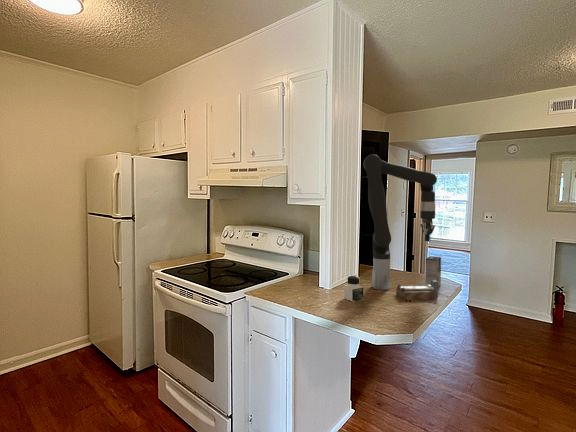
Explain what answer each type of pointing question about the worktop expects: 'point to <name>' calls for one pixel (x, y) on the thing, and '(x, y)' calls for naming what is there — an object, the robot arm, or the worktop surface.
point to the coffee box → (433, 270)
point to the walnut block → (415, 294)
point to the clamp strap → (417, 287)
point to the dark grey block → (435, 286)
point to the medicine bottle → (353, 289)
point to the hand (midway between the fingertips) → (427, 241)
